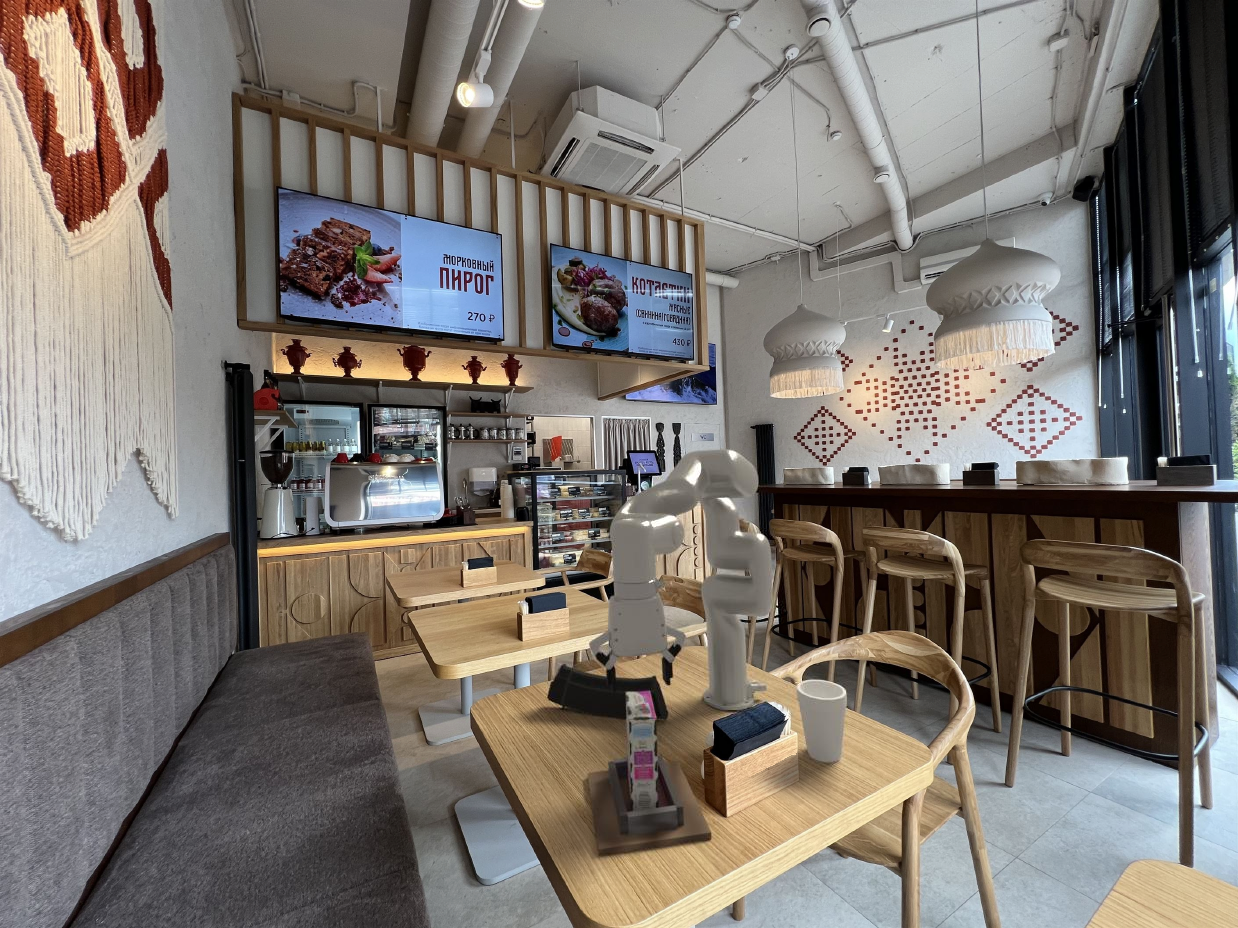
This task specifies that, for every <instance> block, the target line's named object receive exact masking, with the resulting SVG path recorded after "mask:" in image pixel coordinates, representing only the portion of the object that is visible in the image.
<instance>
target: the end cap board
mask: <svg viewBox="0 0 1238 928" xmlns="http://www.w3.org/2000/svg"><path fill="white" fill-rule="evenodd" d="M657 761H658V796H659V808H653V809H646V810H639V811H631V804H630V793H629V782H628V758H627V757H622V758H621V757H619V758H614V759H613V760H612V761H607V770H599V771H593V772H592V771H591V772H587V784H588V790H589V796H590V805H591V809H592V817H593V824H594V831H595V837H596V838H595V839H596V844H597V852H598V857H601V856H607V855H613V854H615V855H616V854H622V853H626V852H627V853H628V852H635V851H641V850H646V849H653V848H660V847H665V846H672V845H673V846H674V845H679V844H687V843H692V842H698V841H700V842H701V841H706V840H711V839H713V838H712V831H711V829H710V827H709V824H708V822H707V820H706V818H705V816H704V813H703V811H702V810H701V807H700V805H699V803H698V801H697V799H696V797H695V795H694V793H693V790H692V788H691V786H690V784H689V782H688V780H687V778H686V776H685V773H684V771H683V770H682V767H681V765H680V763H679V761H678V760H677V761H671V762H670V761H669V762H665V760H664V758H663V755H662V754H661V755H660V754H659V755H658V754H657Z"/></svg>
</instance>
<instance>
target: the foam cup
mask: <svg viewBox="0 0 1238 928" xmlns="http://www.w3.org/2000/svg"><path fill="white" fill-rule="evenodd" d="M846 690H847V689H846V688H844V687H843V686H842V685H840V684H838V683H834V682H832V681H829V680H824V679H807V680H802V681H800V682H799V683H798V684H796V696H797V702H798V705H799V711H800V716H801V722H802V726H803V727H802V728H803V733H804V738H805V746H806V749H807V754H808V756H810V757H811V758H812V759H814V760H816V761H818V762H822V763H835V762H839V761H840V760H841V758H842V752H843V750H842V749H843V742H844V741H843V740H844V731H845V730H844V729H845V722H846V721H845V719H846V718H845V717H846V710H847V709H846V708H847V707H848V700H847V699H848V698H847V691H846Z"/></svg>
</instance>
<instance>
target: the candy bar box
mask: <svg viewBox="0 0 1238 928" xmlns="http://www.w3.org/2000/svg"><path fill="white" fill-rule="evenodd" d="M657 727H658V726H657V720H656V714H655V711H654V706H653V702H652V697H651V693H650V691H635V692H626V750H627V751H626V752H627V755H626V756H627V757H626V758H628V782H629V793H630V804H631V811H639V810H646V809H653V808H659V796H658V761H657V756H658V735H657V733H658V729H657Z"/></svg>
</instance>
